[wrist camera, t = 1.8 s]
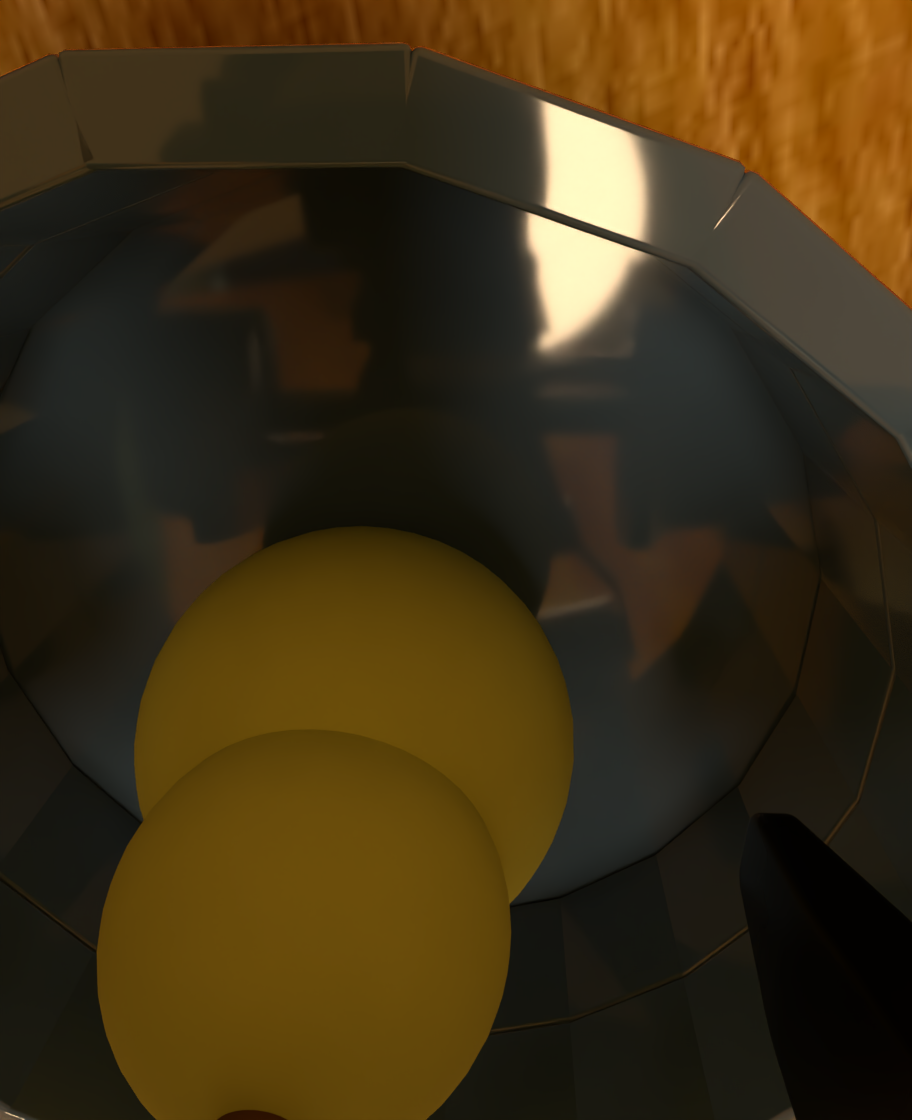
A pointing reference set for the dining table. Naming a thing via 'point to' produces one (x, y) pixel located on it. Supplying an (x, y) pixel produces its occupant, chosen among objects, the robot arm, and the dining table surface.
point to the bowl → (452, 510)
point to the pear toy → (331, 832)
